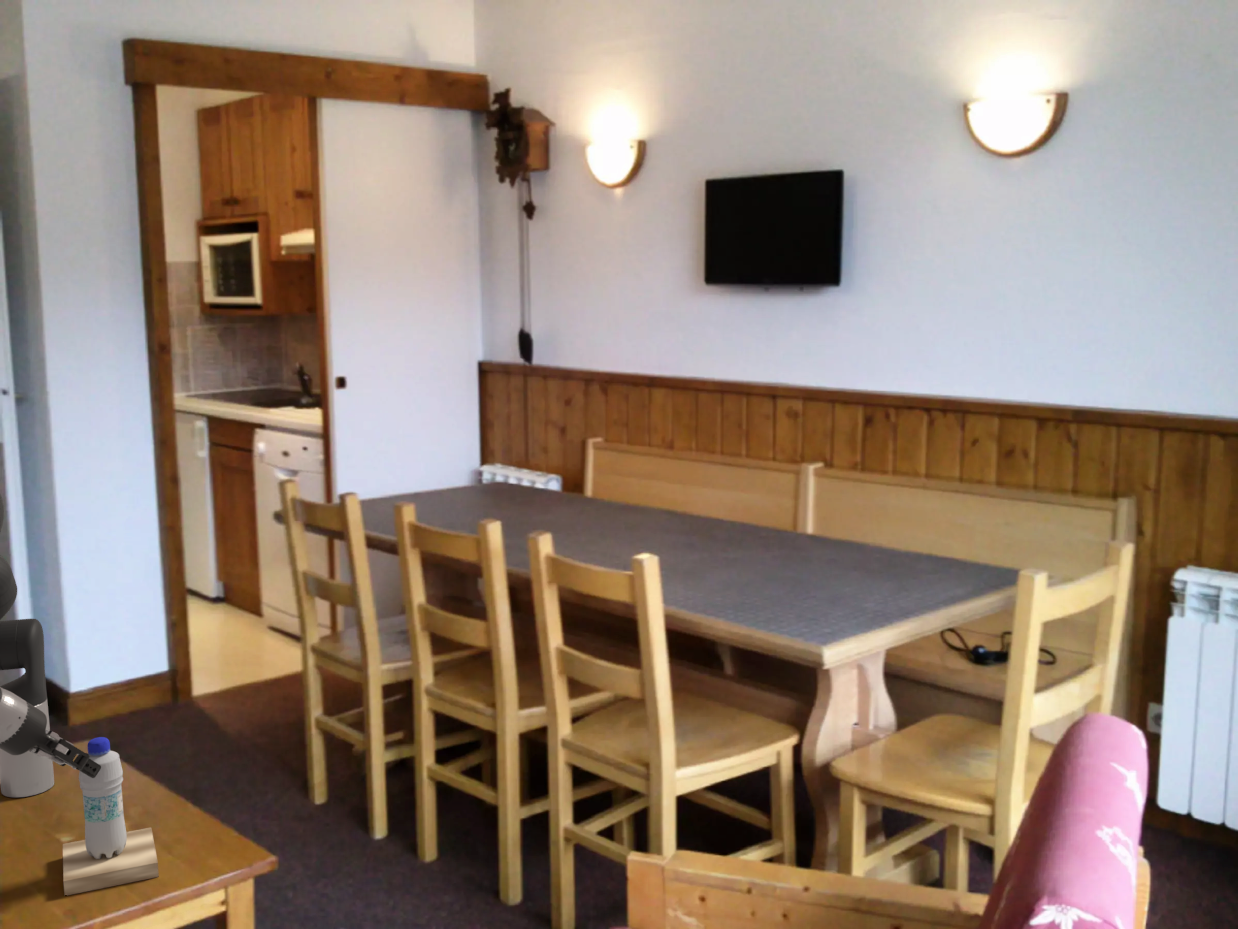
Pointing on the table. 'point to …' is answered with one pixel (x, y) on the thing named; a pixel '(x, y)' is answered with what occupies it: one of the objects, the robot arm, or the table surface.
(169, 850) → the table surface
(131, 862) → the birch stand
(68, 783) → the table surface
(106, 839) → the bottle
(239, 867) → the table surface
